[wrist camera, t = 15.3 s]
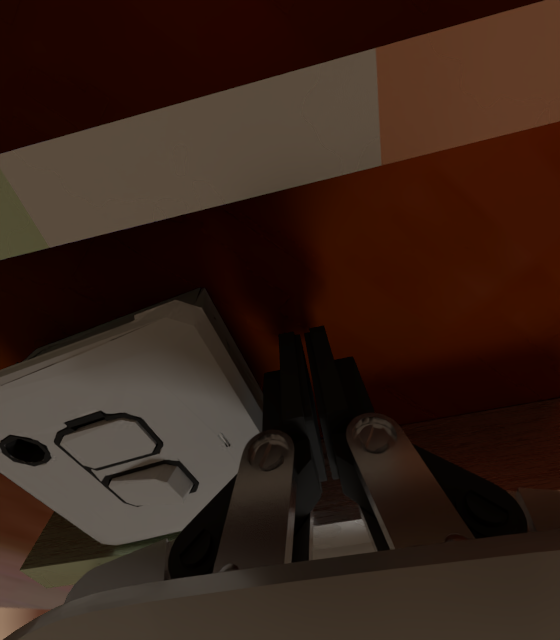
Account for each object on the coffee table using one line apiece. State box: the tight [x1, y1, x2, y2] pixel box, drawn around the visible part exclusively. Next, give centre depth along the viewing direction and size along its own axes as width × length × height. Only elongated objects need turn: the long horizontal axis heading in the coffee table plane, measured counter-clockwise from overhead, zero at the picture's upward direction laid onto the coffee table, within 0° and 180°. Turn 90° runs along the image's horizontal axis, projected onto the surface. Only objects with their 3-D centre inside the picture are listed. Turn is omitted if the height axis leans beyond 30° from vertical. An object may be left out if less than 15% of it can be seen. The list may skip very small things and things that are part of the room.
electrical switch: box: [0, 287, 263, 546], centre depth 12 cm, size 9×5×9 cm
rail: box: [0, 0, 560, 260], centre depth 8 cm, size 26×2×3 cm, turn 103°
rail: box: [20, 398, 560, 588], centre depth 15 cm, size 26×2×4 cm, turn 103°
